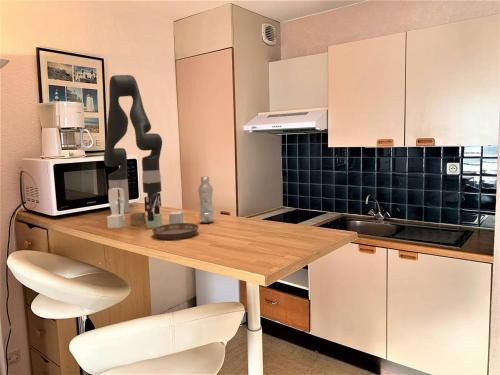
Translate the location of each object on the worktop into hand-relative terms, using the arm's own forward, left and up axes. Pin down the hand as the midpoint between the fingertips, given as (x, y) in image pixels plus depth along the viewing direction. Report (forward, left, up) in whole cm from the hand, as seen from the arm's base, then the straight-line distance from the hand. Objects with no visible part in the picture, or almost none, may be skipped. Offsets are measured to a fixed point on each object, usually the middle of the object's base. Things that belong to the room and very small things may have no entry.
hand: (154, 219), depth 168 cm
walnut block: (-4, -9, -3) cm, 10 cm away
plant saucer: (+16, +13, -4) cm, 21 cm away
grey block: (-4, +8, -3) cm, 10 cm away
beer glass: (-13, -22, -3) cm, 26 cm away
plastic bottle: (-6, +21, -3) cm, 23 cm away
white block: (0, -17, -3) cm, 17 cm away
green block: (0, 0, -3) cm, 3 cm away
